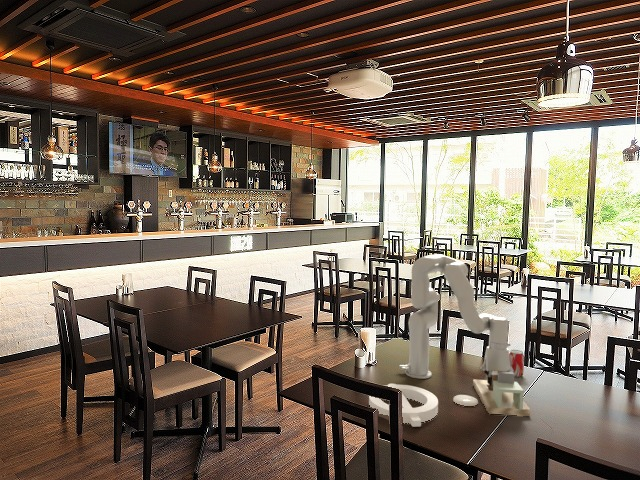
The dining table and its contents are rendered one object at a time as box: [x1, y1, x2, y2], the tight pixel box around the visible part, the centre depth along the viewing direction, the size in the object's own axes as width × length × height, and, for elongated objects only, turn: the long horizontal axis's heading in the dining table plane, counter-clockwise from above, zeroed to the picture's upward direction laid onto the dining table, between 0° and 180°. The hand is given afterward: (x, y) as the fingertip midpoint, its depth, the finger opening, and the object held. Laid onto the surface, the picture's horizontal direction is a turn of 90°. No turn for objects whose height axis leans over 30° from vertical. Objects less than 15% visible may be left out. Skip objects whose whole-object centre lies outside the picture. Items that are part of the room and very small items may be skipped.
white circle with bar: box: [368, 383, 439, 428], centre depth 195 cm, size 28×28×5 cm
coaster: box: [452, 394, 479, 407], centre depth 202 cm, size 10×10×1 cm
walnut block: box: [489, 372, 498, 391], centre depth 210 cm, size 4×4×9 cm
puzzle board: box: [472, 378, 531, 417], centre depth 204 cm, size 16×30×3 cm, turn 174°
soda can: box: [509, 349, 525, 378], centre depth 233 cm, size 7×7×12 cm
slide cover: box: [493, 371, 525, 410], centre depth 192 cm, size 9×9×12 cm
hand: (496, 384), depth 210 cm, fingers closed on walnut block, 4 cm apart
